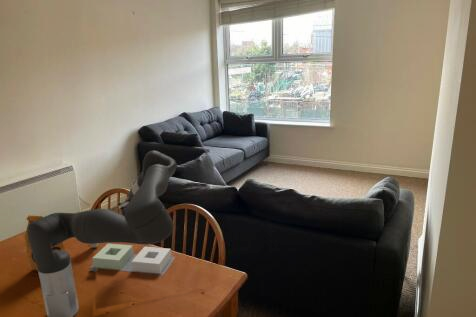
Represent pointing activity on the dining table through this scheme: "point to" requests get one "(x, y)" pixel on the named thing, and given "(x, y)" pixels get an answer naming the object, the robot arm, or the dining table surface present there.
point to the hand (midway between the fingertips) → (127, 213)
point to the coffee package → (32, 262)
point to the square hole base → (132, 259)
